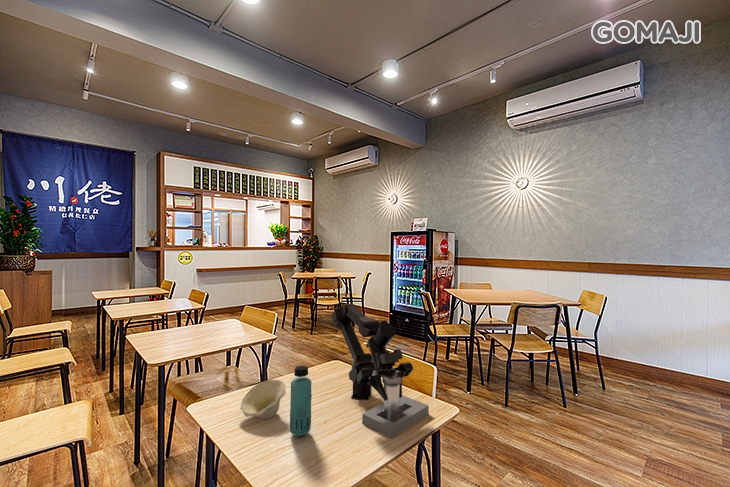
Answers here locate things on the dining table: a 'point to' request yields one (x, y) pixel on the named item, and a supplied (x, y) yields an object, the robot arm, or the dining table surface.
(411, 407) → the keyhole plate
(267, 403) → the bowl
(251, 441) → the dining table surface
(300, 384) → the beverage bottle
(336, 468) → the dining table surface
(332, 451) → the dining table surface
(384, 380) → the salt shaker
